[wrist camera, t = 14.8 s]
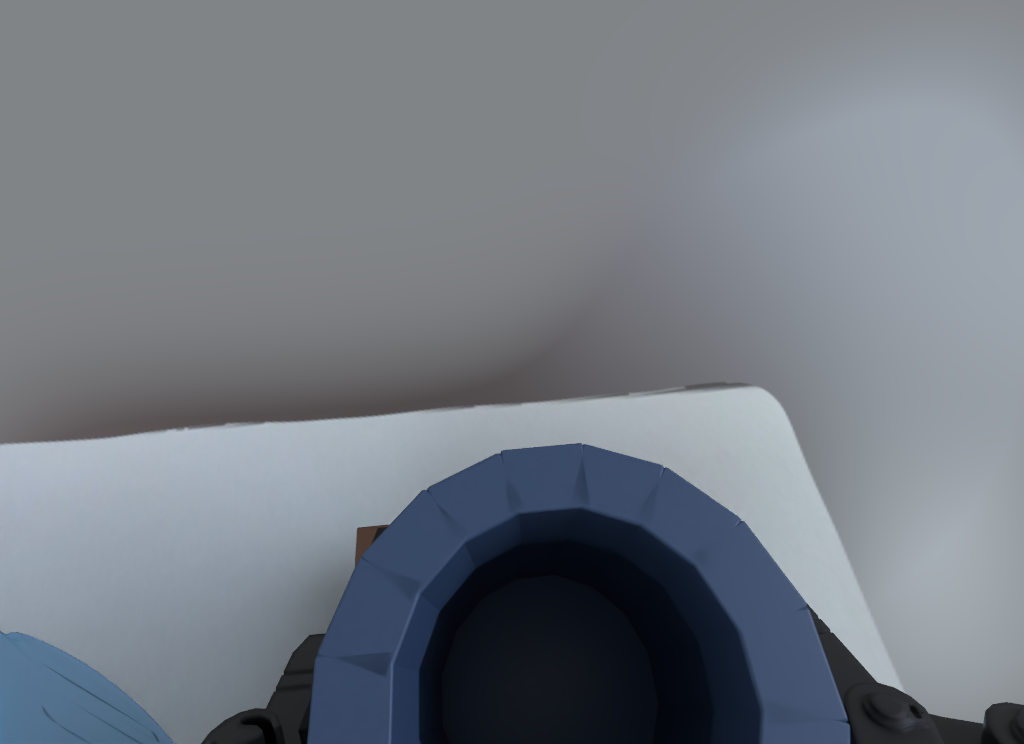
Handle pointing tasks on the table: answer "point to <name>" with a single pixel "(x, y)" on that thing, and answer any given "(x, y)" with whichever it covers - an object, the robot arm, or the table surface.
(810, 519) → the table surface
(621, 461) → the jar
